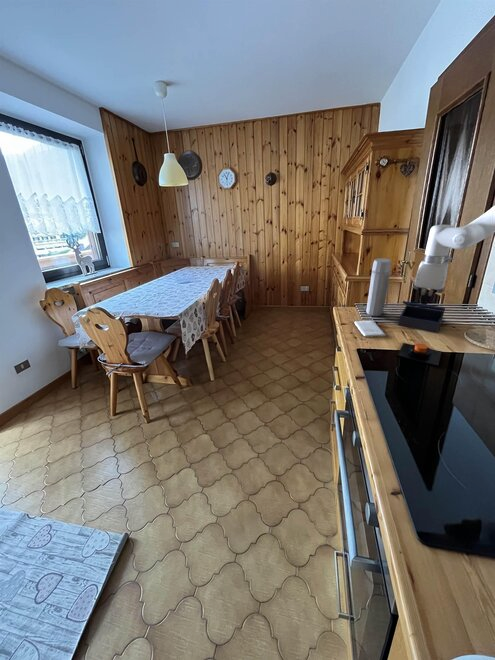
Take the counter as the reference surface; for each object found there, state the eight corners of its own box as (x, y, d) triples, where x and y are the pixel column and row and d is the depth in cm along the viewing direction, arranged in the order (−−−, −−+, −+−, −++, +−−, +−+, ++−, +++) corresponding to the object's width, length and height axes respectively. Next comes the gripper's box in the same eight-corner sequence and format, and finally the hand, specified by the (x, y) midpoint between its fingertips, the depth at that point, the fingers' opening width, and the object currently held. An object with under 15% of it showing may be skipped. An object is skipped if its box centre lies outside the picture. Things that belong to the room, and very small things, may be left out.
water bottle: (361, 313, 133) (369, 260, 122) (373, 309, 136) (381, 257, 125) (378, 319, 126) (387, 264, 114) (390, 315, 129) (400, 261, 117)
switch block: (440, 354, 99) (442, 347, 97) (437, 368, 92) (439, 361, 90) (402, 345, 105) (404, 338, 104) (396, 358, 98) (398, 351, 97)
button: (427, 349, 98) (428, 345, 97) (425, 354, 95) (426, 349, 94) (415, 346, 100) (416, 342, 99) (413, 351, 97) (414, 346, 96)
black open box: (437, 333, 112) (440, 323, 110) (397, 325, 120) (399, 315, 118) (441, 320, 122) (444, 311, 120) (404, 313, 130) (406, 305, 128)
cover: (444, 309, 108) (445, 307, 108) (402, 302, 116) (402, 300, 116) (444, 311, 120) (444, 309, 119) (406, 304, 128) (406, 303, 127)
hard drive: (373, 323, 123) (385, 337, 112) (354, 324, 123) (364, 338, 112) (373, 320, 122) (385, 333, 111) (354, 321, 122) (364, 334, 111)
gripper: (459, 258, 106) (446, 304, 115) (415, 255, 115) (406, 297, 123) (458, 263, 101) (444, 310, 110) (411, 259, 109) (402, 303, 118)
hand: (424, 303), depth 116 cm, fingers closed
